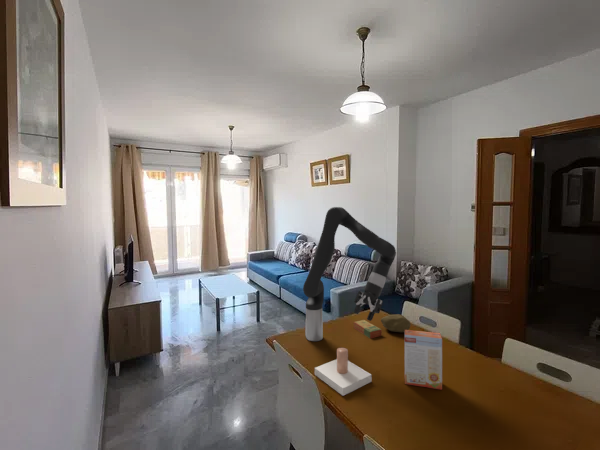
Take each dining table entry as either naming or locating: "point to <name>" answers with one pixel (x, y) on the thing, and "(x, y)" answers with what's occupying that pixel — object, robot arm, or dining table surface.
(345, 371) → the canister
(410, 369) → the cracker box
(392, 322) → the decorative stone
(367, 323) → the carton
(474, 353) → the dining table surface
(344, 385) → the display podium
